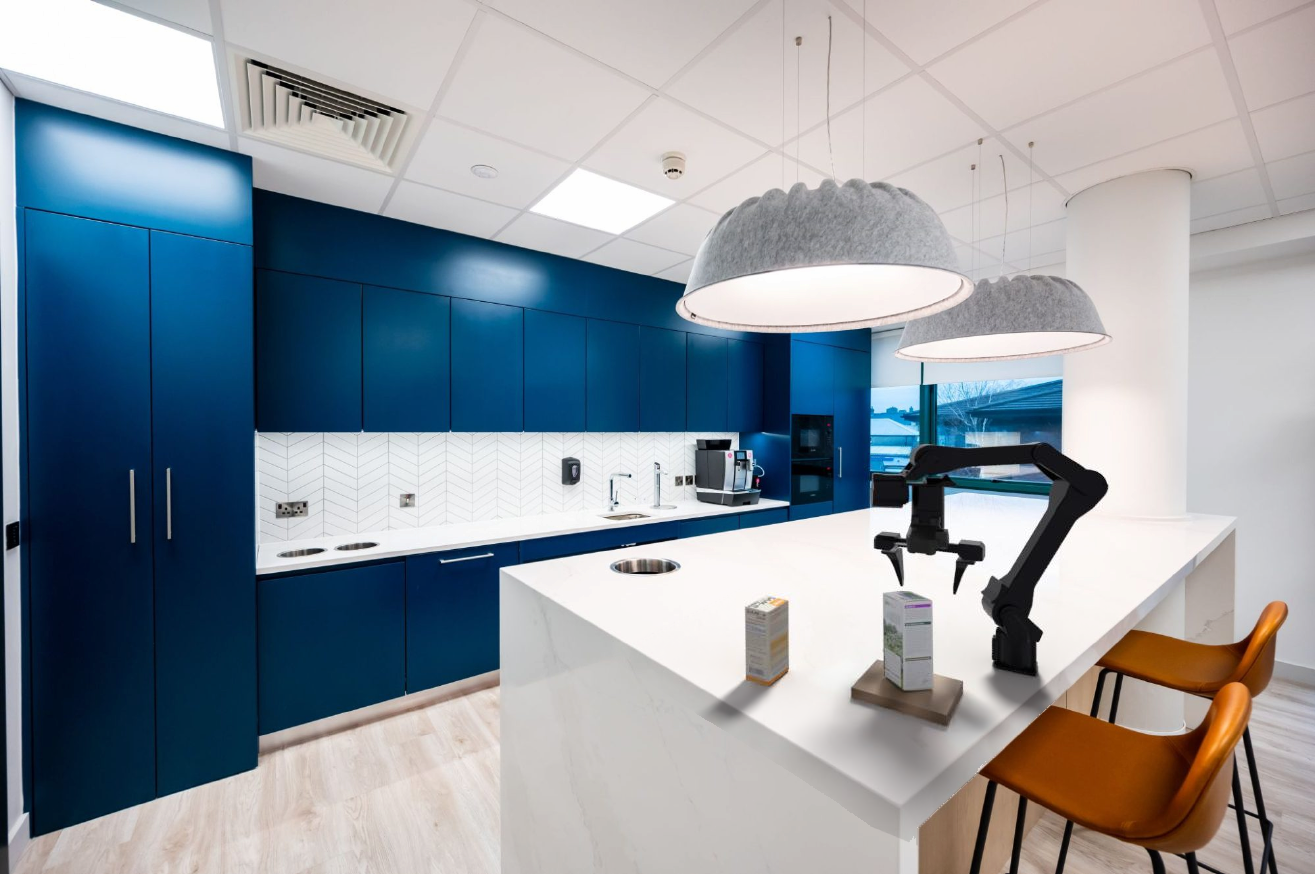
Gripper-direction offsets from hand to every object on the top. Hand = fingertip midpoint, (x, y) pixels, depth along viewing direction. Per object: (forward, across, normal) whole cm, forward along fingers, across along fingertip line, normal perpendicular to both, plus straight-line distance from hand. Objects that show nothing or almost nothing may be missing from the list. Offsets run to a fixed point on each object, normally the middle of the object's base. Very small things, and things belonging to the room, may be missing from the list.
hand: (927, 589), depth 104 cm
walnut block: (+14, 0, -18) cm, 23 cm away
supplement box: (+13, -22, -25) cm, 36 cm away
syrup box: (+11, 0, -18) cm, 21 cm away
